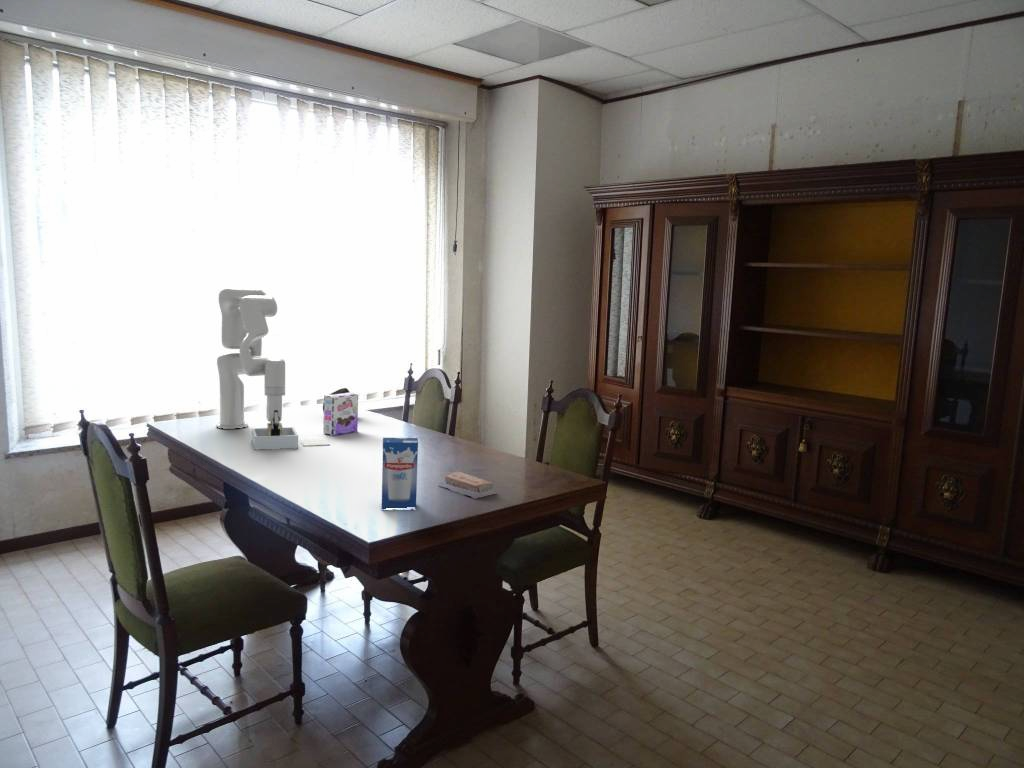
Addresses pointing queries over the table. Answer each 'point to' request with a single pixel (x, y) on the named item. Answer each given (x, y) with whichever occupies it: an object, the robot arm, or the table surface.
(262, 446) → the square storage bin
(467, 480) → the packaged product
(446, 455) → the table surface
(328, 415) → the candy box
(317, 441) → the mat
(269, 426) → the birch block
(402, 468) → the milk carton
